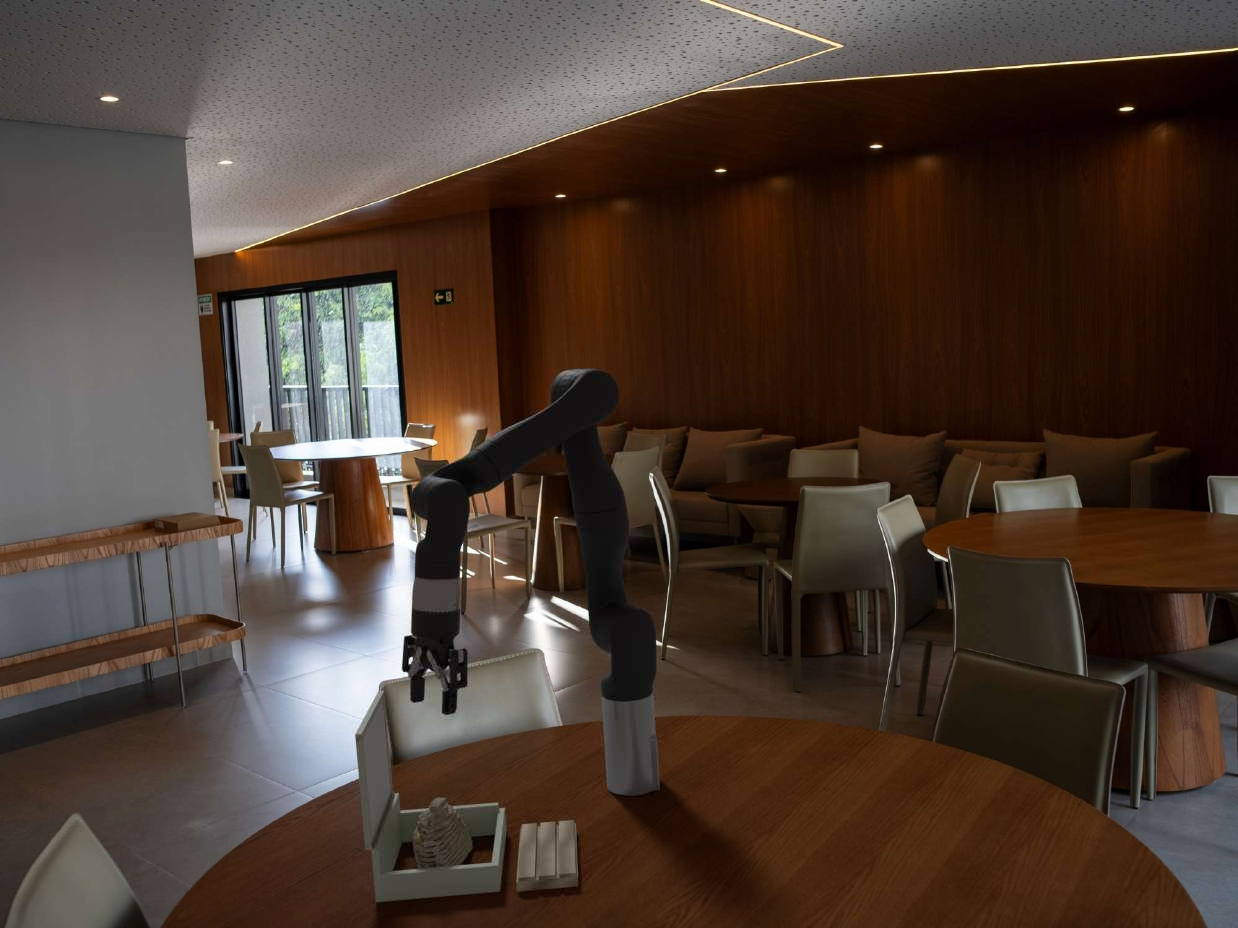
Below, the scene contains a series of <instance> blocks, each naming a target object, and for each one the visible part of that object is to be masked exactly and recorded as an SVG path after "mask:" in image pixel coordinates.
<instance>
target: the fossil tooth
mask: <svg viewBox="0 0 1238 928" xmlns="http://www.w3.org/2000/svg"><path fill="white" fill-rule="evenodd" d="M447 800H448V799H447V798H446V797H440V796H437V797H436V798H434V799H432V801H431V802H430V804H429V806H428V808H429V809H428V810H426V811H424V812H423V813H422V814H420V816H419V821H418V822H417V825H418V826H417V828H416V829H415V831H414V834H413V842H412V847H413V854H414V858H415V861H416V865H417V869H424V868H435V867H447V866H458V865H462V863H463V862H464V860H465V859H466V858H467V857H468V856H469V853H471V851H472V850H473V849H474V845H473V839H472V837H471V835H470V831H468V828H466V827H467V826H466V824H464V823H463V822H464V821H463V820H462V817H461V816H460V814H457V810H456V809H453V806H454V805H450V804H449V803H448V801H447Z"/></svg>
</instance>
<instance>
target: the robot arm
mask: <svg viewBox="0 0 1238 928" xmlns="http://www.w3.org/2000/svg"><path fill="white" fill-rule="evenodd" d="M549 392H550V397H549V398H550V405H548V406H547V407H545V408H544V409H543V410H541V411H539V412H537V413H536V414H534V415H532V416H530V417H528V418H525V419H524V420H521V421H519V422H516V423H515V424H513V425H510V426H508V427H507V428H504V429H502V430H500V431H499V432H497V433H495V434H493V435H492V436H490V437H489V438H487V439H485V441H483V442H482V443H481V444H479V445H478V446H476V447H475V448H473V449H472V450H470V451H469V452H468V453H467V454H466V455H464V456H463V457H461V458H459V459H456V460H454V461H452V462H450V463H448V464H446V465H444V466H442V467H440V468H439V469H437V470H434V471H433V472H431V473H429V474H427V475H426V476H425V477H423V478H422V479H420V481H419V482H418V483H417V484H416V485H415V487H413V490H412V491H411V494H410V506H411V509H412V511H413V513H414V514H415V515H416V516H418V517H419V518H421V519H422V520H425V521H426V527H425V535H424V538H423V539H421V540H419V541H418V542H417V544H416V547H415V551H414V553H415V554H414V577H413V585H412V593H411V620H410V633H411V634H409V635H404V636H403V637H404V638H403V647H402V664H401V671H402V672H403V673H406V674H407V677H408V678H409V679H410V683H409V686H410V687H409V688H410V691H409V695H410V698H409V699H410V702H412V703H421V702H424V700H425V690H426V689H425V688H426V687H425V686H426V678H425V675H426V673H427V672H428V670H430V671H431V672H433V673H434V675H435V678H437V680H439V681H440V685H441V687H442V689H443V690H442V696H441V714H442V715H445V716H449V715H454V714H455V713H456V711H457V708H458V691H459V689H463V688H467V687H468V650H467V648H465V647H464V648H458V649H457V648H455V647H456V646H455V644H454V643H455V641H454V640H455V638H456V637H457V636H459V634H460V632H461V631H460V630H461V629H460V628H461V607H462V606H461V605H462V604H461V603H462V600H461V599H462V586H461V561H462V560H461V559H462V558H461V557H462V556H461V555H462V553H461V551H462V546H463V544H464V541H465V537H466V532H467V528H468V525H469V519H470V513H471V511H470V510H471V503H470V498H472V497H473V496H476V495H478V494H479V495H480V494H485V493H489V492H491V491H493V490H494V489H496V487H498V486H500V485H501V484H503V482H506V481H507V480H508V479H509V478H510V477H513V476H514V475H515V473H517V472H518V471H520V470H521V469H523V468H524V467H526V466H527V465H528V464H530V463H531V462H532V461H534V460H535V459H536V458H539V456H541V455H543V454H544V453H546V452H548V451H549V450H551V449H552V448H554V447H555V446H557V445H559V444H561V447H562V451H563V454H564V460H565V465H566V471H567V477H568V482H569V488H570V491H571V500H572V508H573V514H574V521H575V527H576V531H577V536H578V540H579V541H578V542H579V545H580V546H579V547H580V553H581V558H582V559H581V560H582V565H583V570H584V571H583V572H584V575H585V576H584V577H585V582H586V585H585V586H586V598H587V611H588V612H587V614H588V615H587V617H588V625H589V626H588V627H589V632H590V635H591V639H592V640H593V642H594V644H595V645H596V646H597V647H598V648H600V650H602V651H604V652H607V653H608V654H610V659H611V662H610V663H611V665H610V667H611V668H610V669H611V670H610V672H609V673H607V674H606V675H603V677H602V679H601V681H600V692H601V705H602V706H601V707H602V723H603V725H602V726H603V738H604V756H605V757H604V758H605V769H606V770H605V771H606V773H605V775H606V785H607V786H606V787H607V790H608V791H610V792H612V793H613V794H615V795H618V796H619V795H620V796H627V797H633V796H634V797H635V796H642V795H646V794H649V793H651V792H653V791H659V790H661V789H660V788H661V787H660V771H659V769H660V768H659V767H660V766H659V751H658V739H657V734H656V720H655V719H656V718H655V703H654V699H655V698H654V681H655V679H656V677H657V676H656V675H657V665H658V664H657V631H656V626H655V625H656V624H655V622H654V619H653V617H652V615H651V614H650V613H649V612H648V611H647V610H645V609H643V608H640V607H638V606H635V605H633V604H629V602H628V598H627V595H626V590H625V583H624V580H623V564H624V559H625V554H626V551H627V547H628V543H629V539H630V530H631V529H630V519H629V514H628V513H629V512H628V507H627V500H626V496H625V493H624V490H623V486H622V484H621V482H620V481H619V478H618V477H617V475H616V472H615V471H614V469H613V467H612V466H611V464H610V462H609V461H608V458H607V457H606V455H605V453H604V450H603V447H602V444H601V441H600V436H599V430H598V423H601V422H602V421H604V420H606V419H607V418H609V417H610V416H611V415H612V414H614V411H615V410H616V408H617V406H618V403H619V399H620V390H619V386H618V383H617V381H616V380H615V378H614V377H613V376H612V375H611V374H610V373H609V372H607V371H604V370H602V369H597V368H576V369H567V370H564V371H562V372H560V373H558V374H557V375H556V377H555V378H554V380H553V382H552V384H551V387H550V391H549ZM411 658H412V660H411V663H410V659H411ZM447 668H449V669H447ZM458 674H460V675H459V676H460V679H459V678H458V677H459V676H458ZM448 678H449V680H448Z"/></svg>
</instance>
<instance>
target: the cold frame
mask: <svg viewBox="0 0 1238 928" xmlns="http://www.w3.org/2000/svg"><path fill="white" fill-rule="evenodd" d="M386 707H387V706H386V697H385V690H378V691H377V692H376V695H375V697H374V698H373V700H372V702H371V704H370V706H369V708H368V710H367V712H366V714H365V715H364V717H363V719H362V721H361V723H360V725H359V727H358V728H357V730H356V732H355V734H354V736H355V737H354V738H355V747H356V750H355V751H356V758H357V759H356V761H357V769H358V783H359V792H360V793H359V794H360V804H361V805H360V806H361V815H362V817H361V818H362V827H363V837H364V848H365V851H371V861H372V872H373V873H372V874H373V883H374V885H373V886H374V893H375V894H374V895H375V903H383V902H385V903H386V902H392V901H393V902H394V901H405V900H416V899H417V900H418V899H430V898H438V897H439V898H441V897H449V896H450V897H453V896H463V895H472V894H473V895H476V894H484V893H485V894H487V893H497V892H498V893H499V892H501V886H502V878H503V876H502V875H503V868H504V858H505V857H504V856H505V849H506V848H505V847H506V839H507V838H506V837H507V822H506V821H507V820H506V807H500V808H499V802H488V803H479V804H478V803H475V804H464V805H452V806H453V809H456V810H457V814H460V816H461V817H462V820H463V821H464V822H463V823H464V824H466V826H467V827H466V828H468V831H470V835H471V838H472V837H473V838H474V837H484V836H494V843H493V851H492V857H491V858H492V859H491V862H484V863H473V864H461V865H458V866H447V867H435V868H424V869H418V868H416V869H415V868H414V869H413V868H412V869H402V870H394V868H395V865H396V862H397V859H398V857H399V853H400V850H401V846H402V844H404V843H411V842H412V843H413V834H414V831H415V829H416V828H417V826H418V825H417V822H418V821H419V816H420V814H422V813H423V812H424V811H426V810H428V809H429V807H427V808H417V809H405V810H404V809H403V810H401V804H400V803H401V802H400V801H401V800H400V793H398V792H395V790H394V789H393V780H392V778H393V777H392V768H391V767H392V765H391V755H390V742H389V731H388V730H389V729H388V721H387V708H386Z"/></svg>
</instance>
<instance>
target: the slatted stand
mask: <svg viewBox="0 0 1238 928" xmlns="http://www.w3.org/2000/svg"><path fill="white" fill-rule="evenodd" d="M576 824H577V823H575V821H574V819H572V820H570V819H569V820H559V821H558V824H556V821H548V822H547V821H546V822H540V826H538V823H537V822H535V823H523V824H521V827H520V828H519V829H520V831H519V842H518V843H519V844H518V855H517V856H518V857H517V868H516V869H517V871H516V892H528V891H529V892H530V891H539V890H550V889H551V890H552V889H563V888H573V887H579V886H580V885H579V870H578V869H579V867H578V866H579V865H578V842H577V841H578V839H577V825H576Z"/></svg>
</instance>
